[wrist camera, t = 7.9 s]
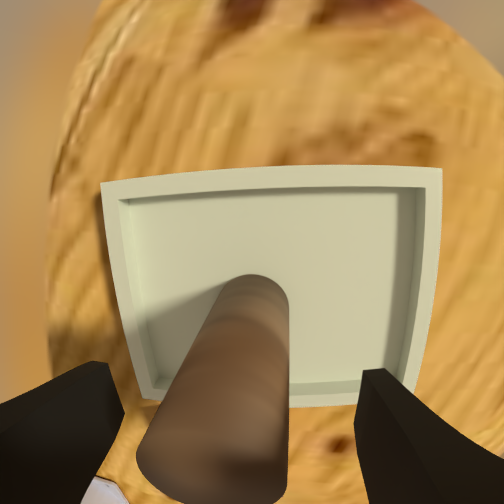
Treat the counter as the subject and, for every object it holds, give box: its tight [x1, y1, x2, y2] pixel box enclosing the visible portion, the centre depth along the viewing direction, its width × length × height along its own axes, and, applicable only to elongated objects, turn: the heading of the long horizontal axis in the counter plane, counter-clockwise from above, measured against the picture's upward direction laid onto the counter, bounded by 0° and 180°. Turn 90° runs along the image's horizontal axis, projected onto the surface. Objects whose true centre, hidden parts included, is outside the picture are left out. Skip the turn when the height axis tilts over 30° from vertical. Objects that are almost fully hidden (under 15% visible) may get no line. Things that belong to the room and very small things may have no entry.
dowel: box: [136, 274, 290, 504], centre depth 10 cm, size 3×3×9 cm
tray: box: [101, 165, 442, 408], centre depth 13 cm, size 14×11×2 cm
